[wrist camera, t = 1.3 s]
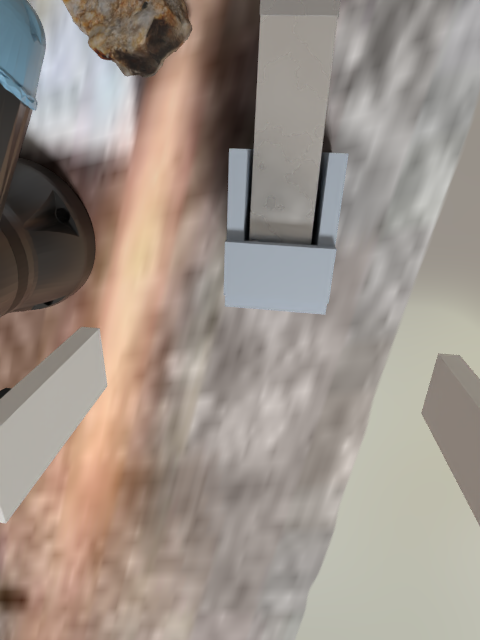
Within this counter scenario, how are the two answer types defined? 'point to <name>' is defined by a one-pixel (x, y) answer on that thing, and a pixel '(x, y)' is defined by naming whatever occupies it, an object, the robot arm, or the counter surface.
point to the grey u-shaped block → (281, 245)
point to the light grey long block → (290, 116)
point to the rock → (132, 31)
